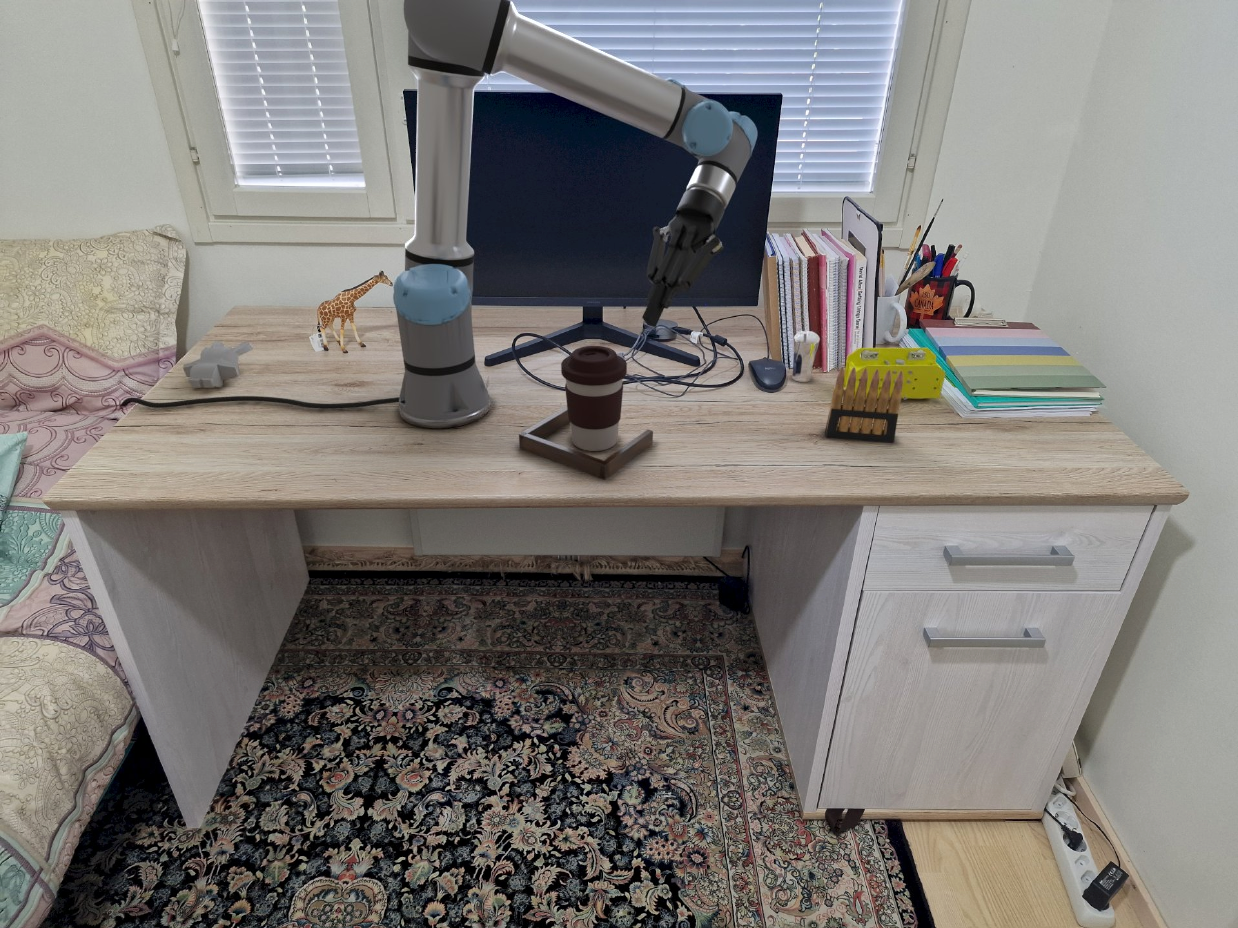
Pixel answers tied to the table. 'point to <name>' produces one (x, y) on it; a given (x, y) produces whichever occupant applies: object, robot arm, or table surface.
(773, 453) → the table surface
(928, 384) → the yellow toy chassis
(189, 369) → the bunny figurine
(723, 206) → the robot arm
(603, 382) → the coffee cup
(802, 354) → the milkshake
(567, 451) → the bay
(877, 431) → the ammunition clip
